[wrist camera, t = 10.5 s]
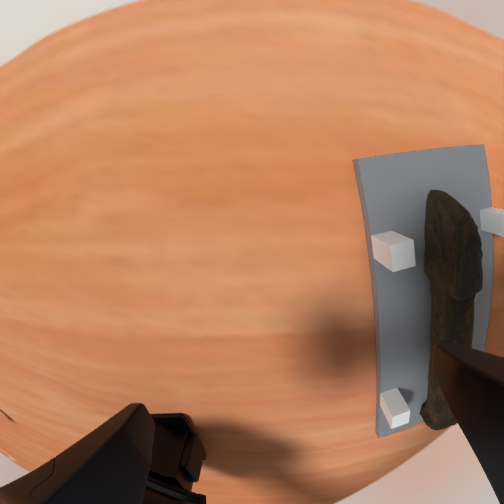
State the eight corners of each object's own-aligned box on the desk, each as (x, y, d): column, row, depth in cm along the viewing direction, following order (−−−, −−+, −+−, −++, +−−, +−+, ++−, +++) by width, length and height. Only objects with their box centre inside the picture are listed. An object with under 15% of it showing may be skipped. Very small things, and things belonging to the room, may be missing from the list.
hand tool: (450, 394, 21) (473, 423, 16) (415, 409, 21) (435, 443, 17) (454, 184, 17) (498, 187, 12) (410, 193, 17) (450, 198, 12)
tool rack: (375, 431, 23) (387, 460, 19) (352, 160, 18) (375, 155, 14) (468, 393, 22) (486, 415, 18) (476, 145, 17) (509, 142, 13)
